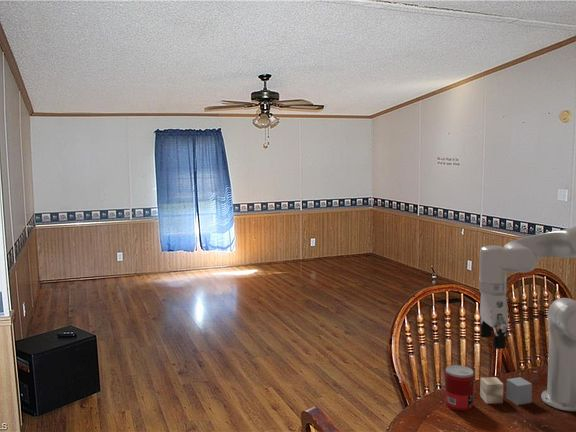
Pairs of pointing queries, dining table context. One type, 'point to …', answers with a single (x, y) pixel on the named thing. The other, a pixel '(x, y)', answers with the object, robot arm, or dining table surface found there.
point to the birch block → (491, 390)
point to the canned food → (459, 387)
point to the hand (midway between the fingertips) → (492, 342)
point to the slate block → (519, 391)
